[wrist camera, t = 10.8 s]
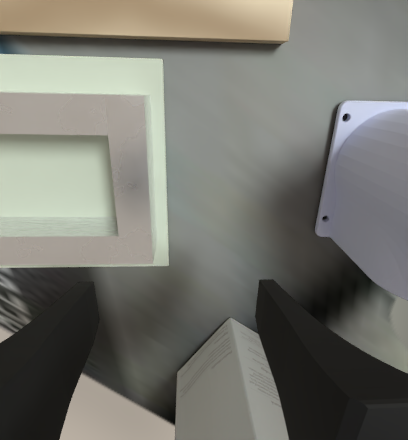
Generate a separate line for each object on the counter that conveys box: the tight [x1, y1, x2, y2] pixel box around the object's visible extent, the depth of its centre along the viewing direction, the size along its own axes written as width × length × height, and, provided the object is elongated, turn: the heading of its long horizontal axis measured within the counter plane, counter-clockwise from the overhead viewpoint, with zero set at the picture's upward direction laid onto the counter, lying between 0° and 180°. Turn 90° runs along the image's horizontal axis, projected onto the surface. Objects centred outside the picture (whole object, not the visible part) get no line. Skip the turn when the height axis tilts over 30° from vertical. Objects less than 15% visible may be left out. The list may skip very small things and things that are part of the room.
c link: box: [0, 91, 157, 265], centre depth 18 cm, size 10×12×3 cm
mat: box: [0, 54, 169, 268], centre depth 20 cm, size 14×14×1 cm
